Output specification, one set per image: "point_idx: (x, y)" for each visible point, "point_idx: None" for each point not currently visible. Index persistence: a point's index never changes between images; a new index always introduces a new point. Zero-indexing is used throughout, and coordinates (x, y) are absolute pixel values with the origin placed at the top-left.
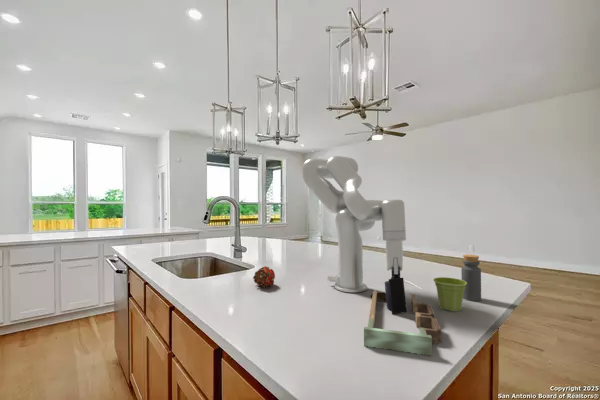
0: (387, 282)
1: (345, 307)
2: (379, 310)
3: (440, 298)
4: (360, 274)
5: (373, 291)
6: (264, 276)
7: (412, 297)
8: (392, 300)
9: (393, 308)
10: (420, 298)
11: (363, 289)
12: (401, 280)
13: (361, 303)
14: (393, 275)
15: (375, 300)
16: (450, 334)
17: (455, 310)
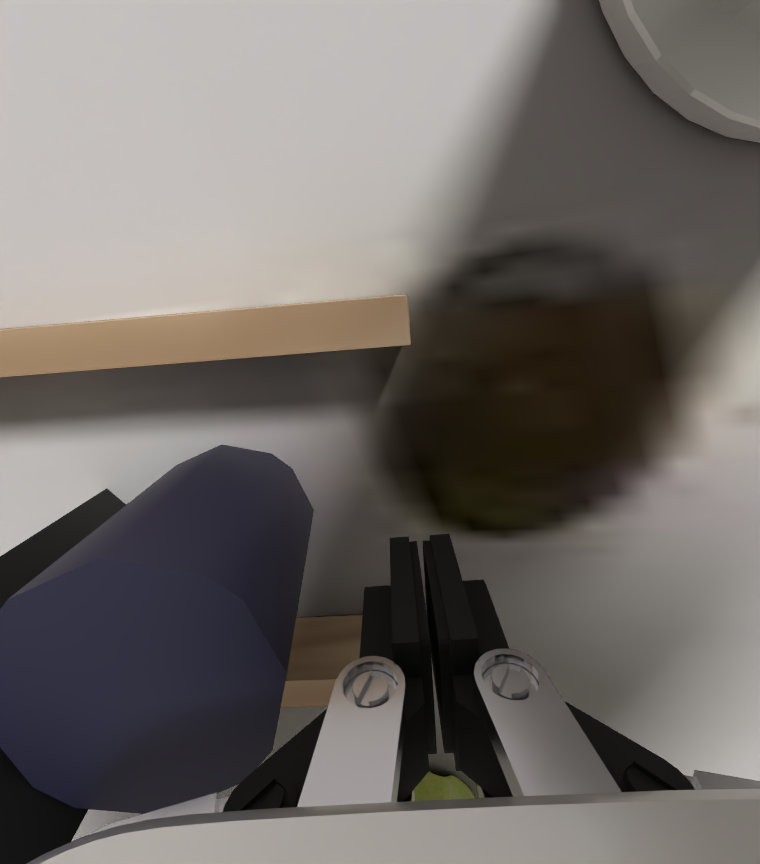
0: (62, 609)
1: (9, 4)
2: (132, 387)
3: None
4: None
5: (381, 300)
6: None
7: (334, 683)
8: (39, 554)
9: (90, 521)
10: (572, 673)
11: (694, 105)
12: (17, 852)
13: (229, 179)
14: (276, 762)
15: (49, 369)
16: None
17: None
